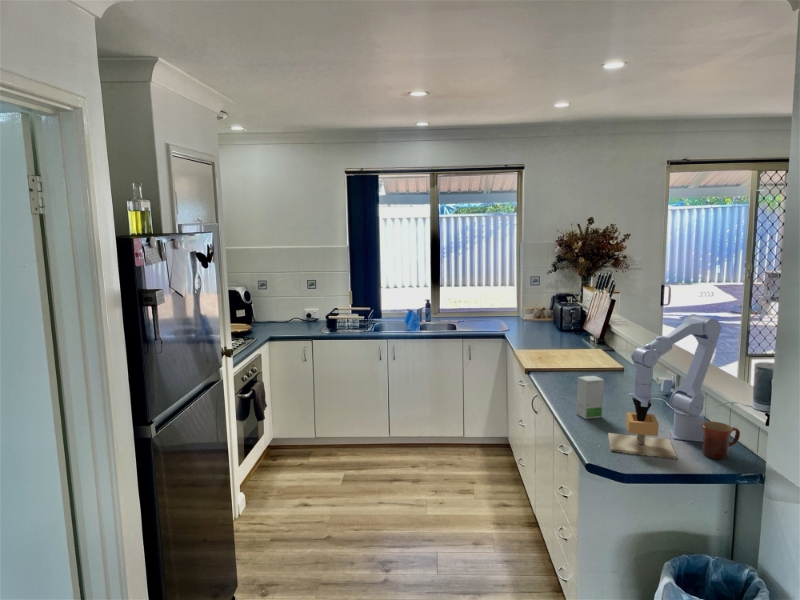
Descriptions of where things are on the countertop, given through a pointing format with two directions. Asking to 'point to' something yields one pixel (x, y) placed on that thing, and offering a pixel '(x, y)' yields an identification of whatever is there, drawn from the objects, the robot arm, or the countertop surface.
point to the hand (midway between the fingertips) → (640, 419)
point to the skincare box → (590, 397)
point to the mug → (718, 439)
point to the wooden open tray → (642, 424)
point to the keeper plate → (641, 445)
